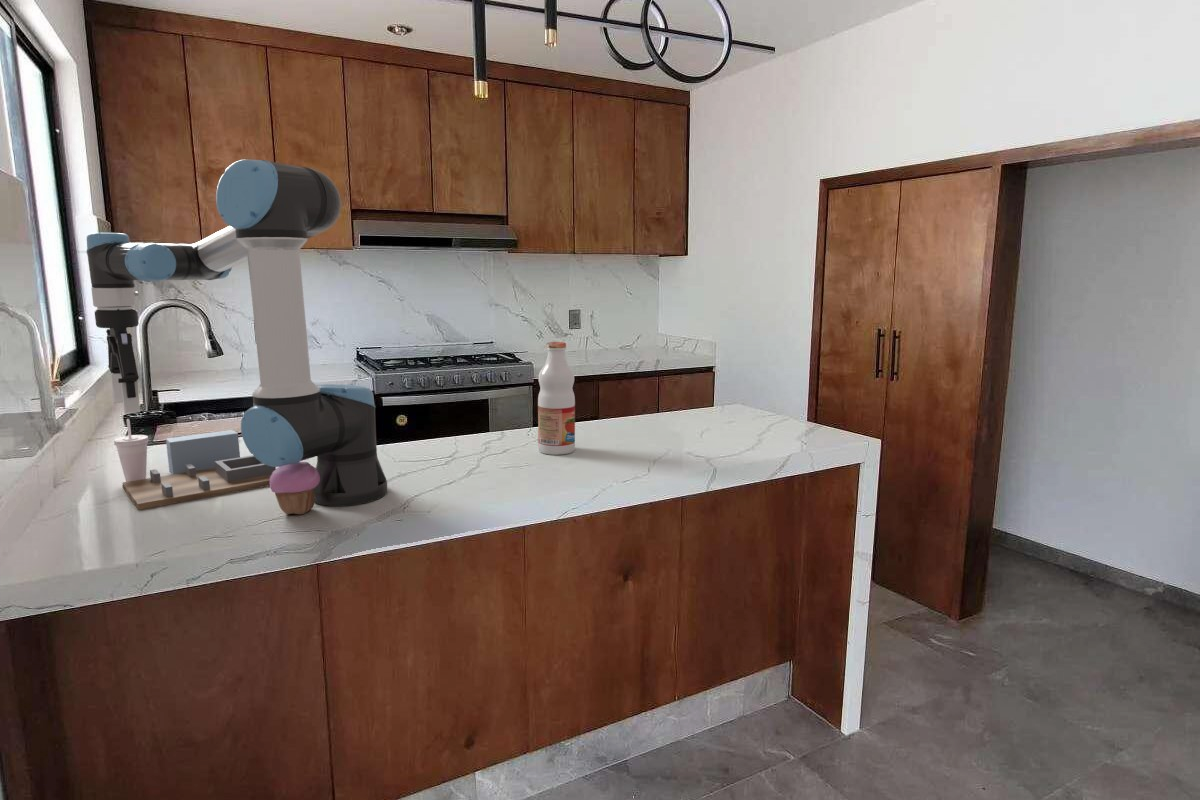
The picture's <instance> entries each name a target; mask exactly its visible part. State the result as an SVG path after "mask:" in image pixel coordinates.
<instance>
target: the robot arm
mask: <svg viewBox="0 0 1200 800" xmlns="http://www.w3.org/2000/svg"><path fill="white" fill-rule="evenodd" d="M216 188H217V189H216V193H215V194H216V195H215V198H216V199H215V203H216V208H217V211H218V215H219V216H220V217H222V221H223V222H224V223H225V224H226V225H228V226H226V227H225V228H223V229H221V230H219V231H216V232H215V233H213V234H211V235H209V236H207V237H205V238H203V239H201V240H199V241H197V242H195V243H189V244H188V243H159V242H158V243H155V242H146V241H145V242H131V240H130V236H129V235H128V234H127V233H120V232H90V233H88V234H87V235H86V254H87V255H86V256H87V262H88V269H89V270H88V271H89V276H90V277H89V278H90V283H91V296H92V306H93V307H94V308H96V309H95V311H94V320H95V326H96V327H97V328H100V329H106V331H105V332H106V342H107V354H108V356H107V357H108V358H107V359H108V365H107V367H108V369H109V372H110V373H111V374H110V378H111V379H110V380H111V386H112V395H113V403H114V404H120V403H122V404H123V410H124V414H125V415H126V414H135V413H141V406H140V397H139V388H138V386H139V385H138V380H139V379H140V377H139V373H138V369H137V363H136V359H135V357H136V356H135V352H134V347H133V338H132V337H133V336H132V335H131V332H129V333H128V330H127V328H135V327H138V326H139V313H138V310H137V309H136V308H134V307H136V306H137V298H136V297H138V296H139V294H140V293H139V292H138V291H135V289H136V288H135V281H141V282H142V281H143V282H148V283H152V282H155V283H156V282H163V281H214V280H222V279H225V278H227V277H228V276H229V274H230V272H231V271H232V270H233V268H234V267H236V266H238V265H240V264H243V263H245V262H247V263H248V264H247V265H248V272H249V273H248V274H249V283H250V284H249V285H250V294H251V302H252V303H251V305H252V313H253V314H252V315H253V321H254V332H255V343H256V352H257V362H258V370H259V373H258V374H259V382H260V383H259V386H257V387H256V389H255V390H254V391H253V393H252V404H253V406H251V407H250V408H248V409H247V410H246V411H244V414H243V416H242V418H241V421H240V432H241V437H242V440H243V442H244V445H245V447H246V448H247V449H248V451H249V453H250V454H252V455H254V456H255V458H256V459H257V460H259V461H260V462H262V463H263V464H265V465H268V466H272V467H276V468H279V467H280V466H284V465H288V464H290V465H292V464H296V463H298V462H304V461H305V460H309V459H312V458H315V457H317V458H316V461H317V462H316V466H315V468H316V470H317V471H318V473H319V475H320V482H319V484H318V485H317V486H316V487H315V489H314V504H319V505H322V506H332V507H344V506H345V507H347V506H354V505H355V506H356V505H361V504H368V503H370V502H374V501H377V500H379V499H382V498H383V497H385V496H386V495H387V493H388V491H389V490H388V481H387V478H386V475H385V473H384V470H383V468H382V466H381V462H380V460H379V458H378V449H377V425H376V404H375V399H374V392H373V391H372V390H371V389H370V388H369V387H367V386H363V385H362V386H361V385H352V384H336V383H335V384H330V383H329V384H328V383H327V384H326V383H325V384H324V383H323V384H316V383H314V382H313V381H312V379H311V378H312V377H311V376H312V375H311V369H310V368H311V367H310V366H311V365H310V357H309V355H310V354H309V346H308V334H307V333H308V332H307V323H306V320H307V319H306V311H305V299H304V289H303V288H304V287H303V277H302V263H301V255H300V250H301V248H302V247H303V246H304V245H305V244H306V243H307V242H308V239H310V238H313V237H315V236H317V235H319V234H321V233H323V232H325V231H328V230H329V229H330V228H331V227H333V226H334V225H335V224H336V222H337V220H339V217H340V215H341V212H342V211H341V210H342V199H341V195H340V191H339V190H338V188H337V186H336V185H335V183H334V182H333V180H332V179H331V178H330V177H329V176H327V175H326V174H324V173H323V172H321V171H320V170H317V169H316V168H311V167H307V166H299V165H298V166H297V165H292V164H287V163H283V162H281V163H280V162H276V161H269V160H266V159H240V160H236V161H234V162H233V163H231V164H230V165H229V166H227V168H225V171H224V173H223V174H222V175H221V176H220V178H219V181H218V184H217V187H216Z"/></svg>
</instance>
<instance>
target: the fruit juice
mask: <svg viewBox="0 0 1200 800" xmlns="http://www.w3.org/2000/svg"><path fill="white" fill-rule="evenodd" d="M546 350H547V357H546V359H545V363H544V365H543V366H542V368H541V369H540V371H539V373H538V383H539V387H540V389H539V393H538V397H537V413H538V414H537V418H538V419H537V420H538V421H537V424H538V427H537V429H538V430H537V431H538V432H537V435H538V443H537V445H538V451H539V452H540V453H542V454H545V455H551V456H560V455H561V456H562V455H567V454H571V453H573V452H574V451H575V448H576V399H575V398H576V397H575V393H574V390H573V386H574V383H575V374H574V372H573V370H572V368H571V367H570V365H569V364H568V362H567V357H566V351H565V350H567V343H566V342H564V341H548V342H547V343H546Z"/></svg>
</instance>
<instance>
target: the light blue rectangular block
mask: <svg viewBox="0 0 1200 800" xmlns="http://www.w3.org/2000/svg"><path fill="white" fill-rule="evenodd" d="M165 443H166V445H165V446H166V453H167V463H168V470H169V471H168V472H169V473H170V475H172V474H178V473H184V472H186V471H185V465H186V464H192V465H193V466H194V467H195V470H196V471H197V470H203V469H209V468H215V461H220V460H226V459H233V458H239V457H241V455H240V454H241V451H240V443H239V433H238V432H236V431H235V430H234V429H228V430H221V431H213V432H206V433H205V432H204V433H199V434H191V435H190V434H189V435H183V436H175V437H168V438H165Z"/></svg>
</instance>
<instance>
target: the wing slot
mask: <svg viewBox="0 0 1200 800" xmlns="http://www.w3.org/2000/svg"><path fill="white" fill-rule="evenodd" d="M185 471H186V474H187V475H188V476H189V477H196V470H195V467H194V466H193V465H192V464H186V465H185ZM149 474H150V478H151V480H152V481H153V482H154V483H160V482H161V478H160V476H161V472H159V471H158V469H157V468H154V469H150V470H149ZM198 482H199V487H200V488H201V489H202V490H203V491H205V490H210V483H209V480H208V479H207V478H206V477H205V476H201V477H198ZM161 486H162V493H163V494H164V495H165V496H166V497H171V496H173V489H172V486H171V485H170V484H169V483H168V482H165V483H161Z"/></svg>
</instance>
